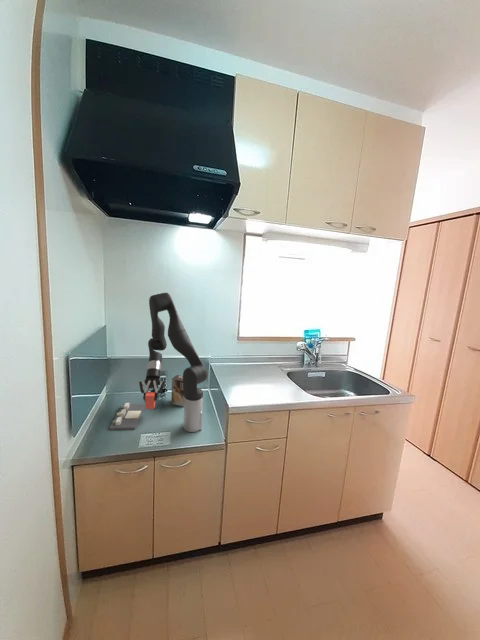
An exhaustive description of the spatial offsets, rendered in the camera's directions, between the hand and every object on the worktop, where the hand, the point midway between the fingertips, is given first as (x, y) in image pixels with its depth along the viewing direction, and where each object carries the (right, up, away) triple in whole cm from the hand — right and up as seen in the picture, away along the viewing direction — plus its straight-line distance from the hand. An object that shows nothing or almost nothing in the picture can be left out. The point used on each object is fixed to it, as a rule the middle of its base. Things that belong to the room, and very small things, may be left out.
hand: (150, 400), depth 139 cm
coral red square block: (0, -4, +2) cm, 4 cm away
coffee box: (+12, -7, +19) cm, 23 cm away
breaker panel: (-12, -9, +1) cm, 15 cm away
